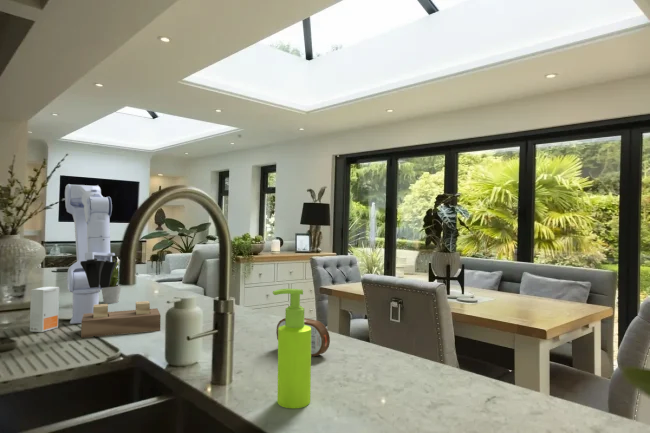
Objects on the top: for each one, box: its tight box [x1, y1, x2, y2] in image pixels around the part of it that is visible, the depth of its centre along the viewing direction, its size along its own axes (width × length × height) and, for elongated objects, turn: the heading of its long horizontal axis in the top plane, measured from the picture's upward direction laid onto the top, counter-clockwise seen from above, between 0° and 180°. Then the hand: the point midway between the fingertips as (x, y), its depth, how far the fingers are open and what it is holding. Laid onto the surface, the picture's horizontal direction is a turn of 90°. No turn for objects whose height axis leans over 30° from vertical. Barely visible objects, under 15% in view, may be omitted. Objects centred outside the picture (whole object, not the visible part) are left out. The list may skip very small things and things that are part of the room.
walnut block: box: [80, 308, 162, 339], centre depth 128 cm, size 10×20×4 cm, turn 116°
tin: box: [275, 317, 331, 357], centre depth 108 cm, size 15×3×8 cm, turn 55°
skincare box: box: [29, 286, 60, 333], centre depth 127 cm, size 6×4×12 cm
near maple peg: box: [93, 303, 109, 318], centre depth 125 cm, size 4×4×4 cm
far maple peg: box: [135, 300, 151, 315], centre depth 130 cm, size 4×4×4 cm
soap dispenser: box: [272, 288, 312, 409], centre depth 79 cm, size 6×7×20 cm
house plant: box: [101, 259, 122, 304], centre depth 170 cm, size 14×14×16 cm
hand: (99, 287), depth 122 cm, fingers open, 7 cm apart
